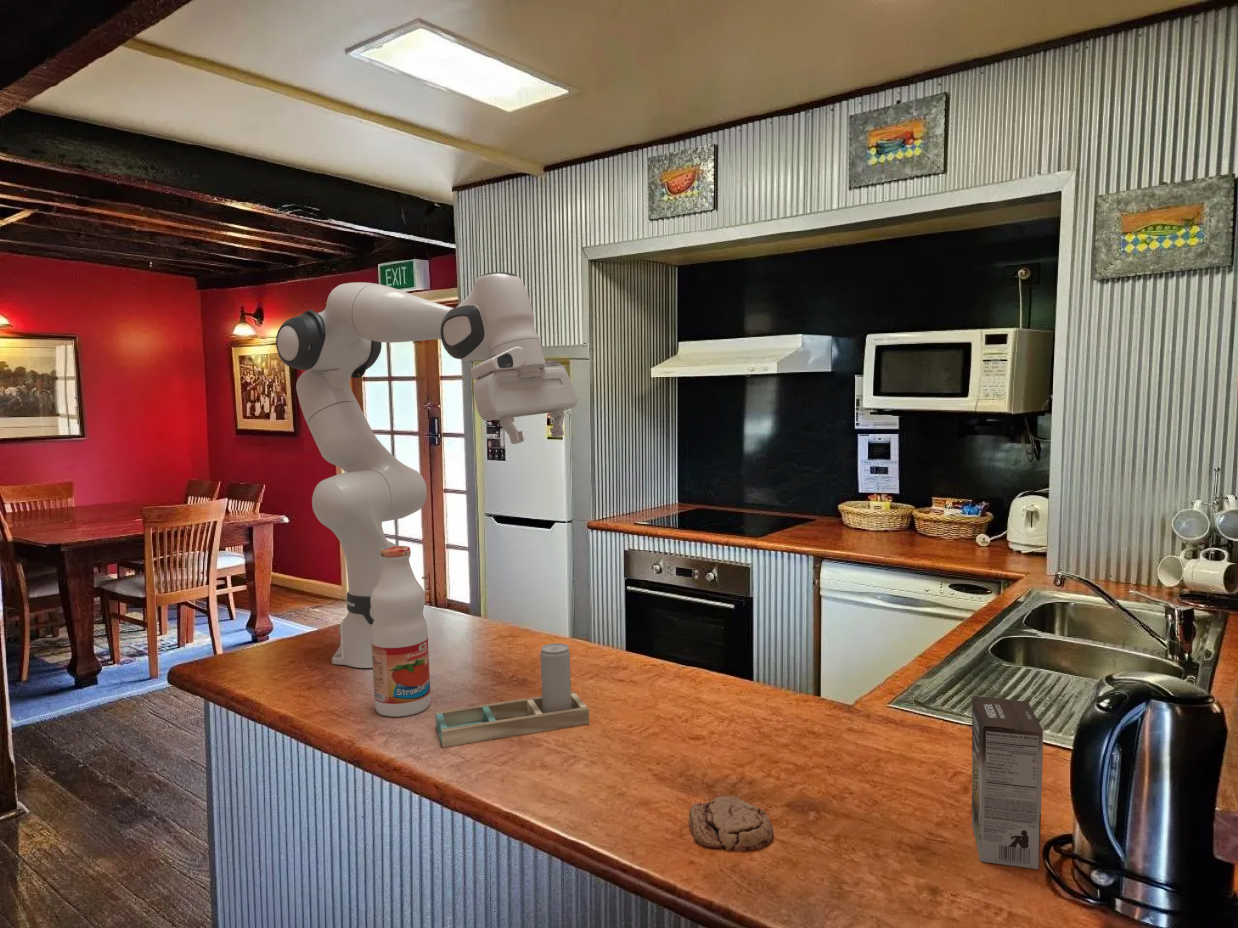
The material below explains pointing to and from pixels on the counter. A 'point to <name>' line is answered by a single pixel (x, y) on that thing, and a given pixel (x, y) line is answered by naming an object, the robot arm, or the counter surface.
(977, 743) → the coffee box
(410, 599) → the fruit juice
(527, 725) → the rack
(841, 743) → the counter surface
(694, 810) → the cookie
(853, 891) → the counter surface
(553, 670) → the beverage can
